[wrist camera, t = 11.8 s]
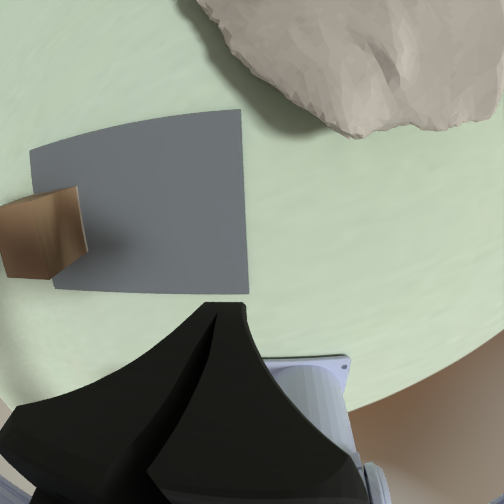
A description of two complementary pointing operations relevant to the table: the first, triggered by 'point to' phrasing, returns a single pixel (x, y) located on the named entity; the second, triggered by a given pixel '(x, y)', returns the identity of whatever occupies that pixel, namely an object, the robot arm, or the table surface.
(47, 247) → the cube
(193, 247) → the mat
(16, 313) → the table surface
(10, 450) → the robot arm
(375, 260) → the table surface
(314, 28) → the rock
